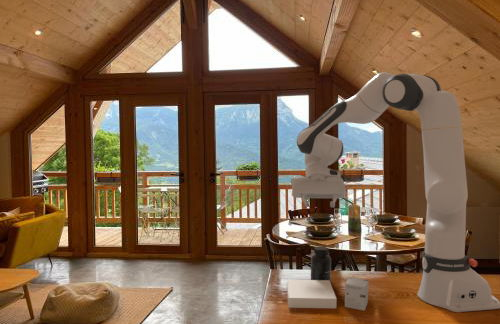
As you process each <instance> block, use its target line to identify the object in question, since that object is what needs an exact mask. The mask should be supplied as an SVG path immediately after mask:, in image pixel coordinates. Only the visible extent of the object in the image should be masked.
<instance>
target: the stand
mask: <svg viewBox="0 0 500 324" xmlns="http://www.w3.org/2000/svg"><path fill="white" fill-rule="evenodd" d="M286 295H287V296H286V297H287V303H288V304H287V305H288V308H290V309H291V308H293V309H297V308H298V309H337V302H338V301H337V296H336V294H335V291H334V289H333V286H332V284H331V282H330V281H329V280H311V279H286Z"/></svg>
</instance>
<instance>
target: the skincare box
mask: <svg viewBox="0 0 500 324" xmlns="http://www.w3.org/2000/svg"><path fill="white" fill-rule="evenodd" d="M369 283H370V281H369V279H364V278H358V277H352V276H349V277H348V278H347V280H346V282H345V285H344V286H345V287H344V307H345V308H349V309H354V310H359V311H366V308H367V305H368V300H369Z"/></svg>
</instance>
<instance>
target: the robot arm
mask: <svg viewBox="0 0 500 324" xmlns="http://www.w3.org/2000/svg"><path fill="white" fill-rule="evenodd" d="M389 107H392V108H394V109H397V110H403V111H408V112H412V111H415V112H416V113H417V114H418V116H419V118H420V125H421V140H422V150H423V169H424V171H423V175H424V193H425V199H426V200H425V201H426V217H425V228H424V230H425V232H424V250H423V251H422V276H421V282H420V286H419V289H418V291H417V296H418V298H419V299H420V300H422V301H423V302H425V303H428V304H430V305H432V306H436V307H439V308H444V309H446V310H448V311H451V312H453V313H454V312H455V313H461V312H462V313H464V312H474V311H475V312H476V311H486V310H489V311H490V310H497V309H500V301H499V299H498V298H497V297H495V296H494V295H493V294H492V289H491V286H490V284H489V282H488V281H487V280H486V279H485V278H484V277H482V276H481V275H480V274H479V273H477V272H476V271H475V270H474V269H473V268H476V267H477V266H478V264H479V263H478V261H477V260H475V258H470V257H469V256H467V255H465V250H466V248H465V247H466V231H467V230H466V229H467V228H466V225H467V224H466V223H467V201H468V199H469V197H468V194H469V193H468V191H469V190H468V181H467V171H466V160H465V159H466V158H465V147H464V135H463V124H462V117H461V115H462V114H461V111H460V107H459V103H458V99H457V97H456V95H454V93H452V92H450V91H447V90H442V89H441V86H440V83H439V82H438V81H437V80H436V79H435V78H433V77H431V76H429V75H422V74H417V73H398V74H395V75H394V74H393V73H390V72H387V71H382V72H379V73H378V74H376V75H374V76H373V77H372V78H371V79H370V80H368V82H366V83H365V84H364V85H363V86H362V87H361V88H360V90H358V91H357V93H356V94H354V95H353V96H350V98H348V99H345V100H342V101H341V100H340V101H338V102H337V103H335V104H334V105H333V106H331V107H330V108H329V109H327V110H326V111H325V112H324V113H322V115H321V116H320V117H318V118H317V119H316V120H315V121H314V122H312V123H311V124H310V125H309V126H307V127H305V128H303V130H301V131H300V132H299V133H298V135H297V138H296V144H297V145H296V146H297V148H298V150H299V151H300V153H303V154H304V165H305V175H301V176H298V175H294V176H293V177H291V178H290V184H291V186H292V187H291V188H292V189H291V196H292V197H293V198H294V199H295V198H296V199H301V201H302V202H303V203H304V207H305V208H309V207H310V200H307V199H332V200H331V201H330V203H329V206H330V208H336V207H335V206H336V202H337V200H338V199H339V200H340V199H344V198H345V197H346V195H347V189H346V185H345V182H344V179H343V178H342V177H341V172H340V171H339V170H334V169H332V168H329V167H328V166H331V165H333V164H334V163H337V162H338V161H339V160H341V158H342V157H343V154H344V143H343V141H342V140H341V139H340V138H338V137H335V136H333V135H330V134H327V133H326V132H327V131H329V130H330V129H331V128H332V127H333V126H334V125H338V124H341V123H346V124H347V123H349V124H351V123H353V124H358V125H359V124H361V125H364V124H365V125H367V124H369V123H370V124H371V123H372V122H374V121H376V120H377V119H379V117H380V116H381V115H382V114H383V113H384V112H385V111H386V110H387V109H388V108H389ZM471 267H473V268H471Z"/></svg>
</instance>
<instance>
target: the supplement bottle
mask: <svg viewBox="0 0 500 324" xmlns="http://www.w3.org/2000/svg"><path fill="white" fill-rule="evenodd" d="M329 253H330V252H329V247H326V246H321V245H319V246H314V248H313V255H312V256H311V258H310V280H329V281H330V283H331V282H332V281H331V280H332V258H331V256H330V255H329Z"/></svg>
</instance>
